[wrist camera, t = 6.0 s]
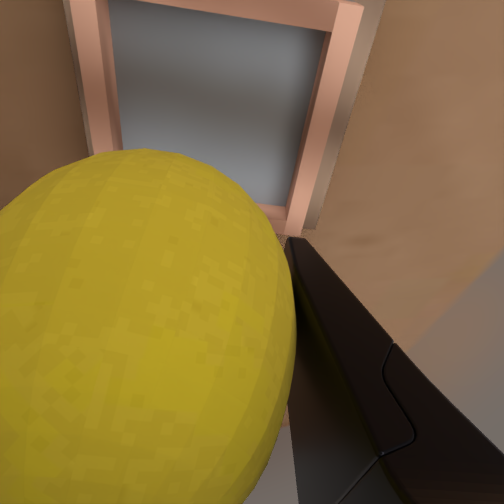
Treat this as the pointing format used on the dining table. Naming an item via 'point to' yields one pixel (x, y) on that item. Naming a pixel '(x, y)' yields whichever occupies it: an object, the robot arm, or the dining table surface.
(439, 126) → the dining table surface
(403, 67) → the dining table surface
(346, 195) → the dining table surface
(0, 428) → the lemon
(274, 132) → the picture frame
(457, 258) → the dining table surface
